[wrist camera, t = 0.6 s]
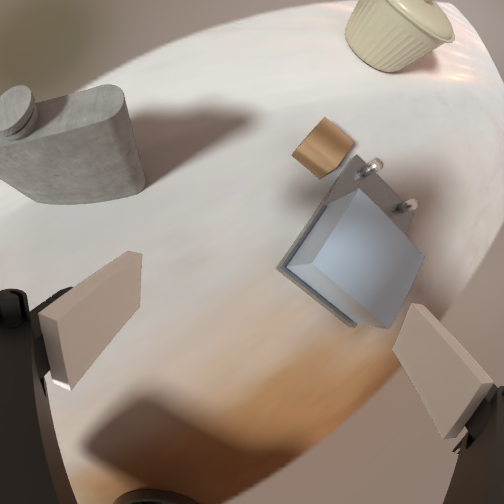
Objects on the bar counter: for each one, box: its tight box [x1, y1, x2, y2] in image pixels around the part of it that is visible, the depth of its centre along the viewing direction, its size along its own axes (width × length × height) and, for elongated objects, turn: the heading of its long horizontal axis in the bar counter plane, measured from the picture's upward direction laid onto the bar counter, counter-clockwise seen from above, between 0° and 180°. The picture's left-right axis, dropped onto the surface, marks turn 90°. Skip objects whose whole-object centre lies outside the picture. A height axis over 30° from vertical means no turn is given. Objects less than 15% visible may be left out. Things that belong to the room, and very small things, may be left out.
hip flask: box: [0, 84, 146, 205], centre depth 22 cm, size 16×4×20 cm, turn 94°
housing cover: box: [287, 189, 425, 329], centre depth 33 cm, size 10×12×7 cm
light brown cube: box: [292, 117, 354, 179], centre depth 37 cm, size 5×5×5 cm
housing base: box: [276, 155, 419, 328], centre depth 37 cm, size 20×13×4 cm, turn 143°
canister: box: [345, 0, 455, 72], centre depth 35 cm, size 18×18×21 cm
